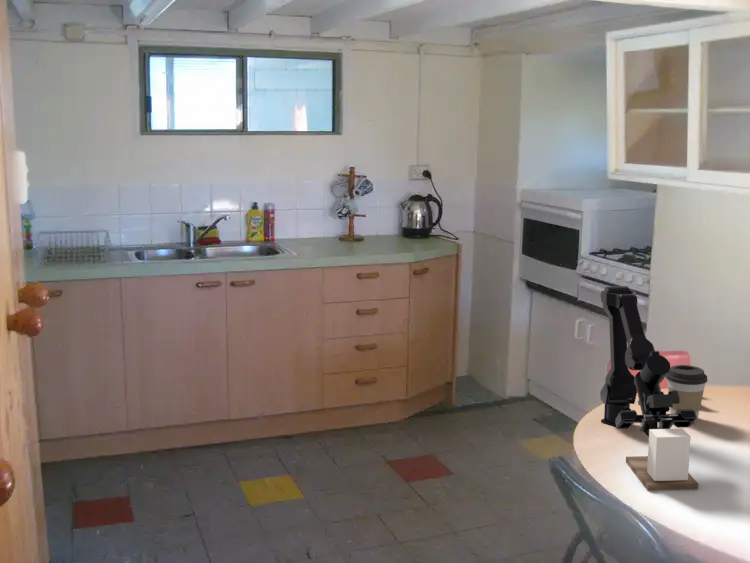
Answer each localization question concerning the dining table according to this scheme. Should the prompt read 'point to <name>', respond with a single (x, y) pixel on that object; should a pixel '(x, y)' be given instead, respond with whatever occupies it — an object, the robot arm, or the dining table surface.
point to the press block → (668, 454)
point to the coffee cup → (687, 387)
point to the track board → (640, 470)
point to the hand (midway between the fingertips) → (662, 451)
